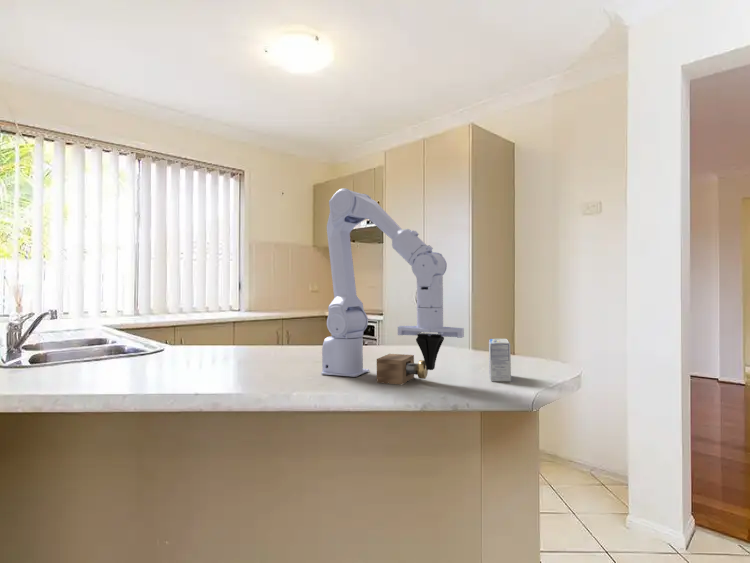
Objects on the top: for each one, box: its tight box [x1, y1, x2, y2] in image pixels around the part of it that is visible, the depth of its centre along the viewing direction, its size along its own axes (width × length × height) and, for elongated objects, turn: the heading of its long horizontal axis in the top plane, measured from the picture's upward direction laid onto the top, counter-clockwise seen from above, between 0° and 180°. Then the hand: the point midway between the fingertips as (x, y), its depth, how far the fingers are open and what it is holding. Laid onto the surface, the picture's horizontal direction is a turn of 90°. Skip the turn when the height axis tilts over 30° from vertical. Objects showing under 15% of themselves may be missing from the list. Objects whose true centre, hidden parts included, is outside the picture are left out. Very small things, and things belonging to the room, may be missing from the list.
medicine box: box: [488, 338, 512, 383], centre depth 108 cm, size 8×4×9 cm, turn 168°
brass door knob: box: [406, 359, 429, 380], centre depth 106 cm, size 9×4×4 cm, turn 67°
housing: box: [376, 353, 415, 386], centre depth 107 cm, size 6×8×5 cm
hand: (430, 369), depth 104 cm, fingers closed
